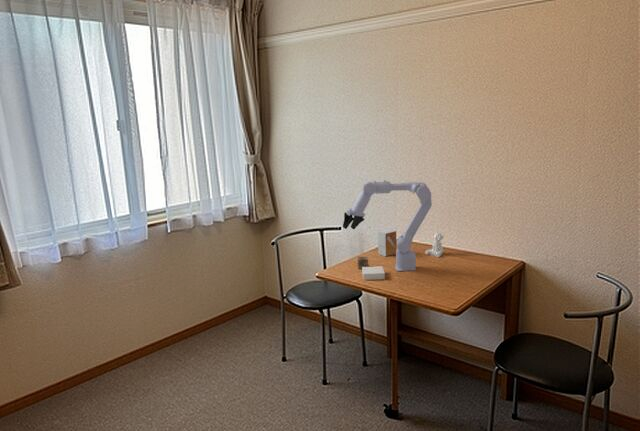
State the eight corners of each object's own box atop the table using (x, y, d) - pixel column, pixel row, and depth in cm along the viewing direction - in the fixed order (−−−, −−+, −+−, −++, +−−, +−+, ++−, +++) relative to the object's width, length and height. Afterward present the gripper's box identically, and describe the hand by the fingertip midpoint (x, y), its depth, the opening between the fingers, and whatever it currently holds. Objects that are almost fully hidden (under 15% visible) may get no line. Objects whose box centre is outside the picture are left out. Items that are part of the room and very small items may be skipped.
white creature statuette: (424, 254, 255) (424, 232, 253) (434, 250, 260) (434, 229, 258) (438, 257, 248) (438, 236, 245) (448, 254, 253) (448, 233, 250)
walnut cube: (367, 265, 241) (367, 256, 240) (368, 269, 236) (368, 259, 235) (357, 266, 241) (357, 256, 240) (358, 269, 237) (358, 260, 235)
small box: (385, 256, 254) (385, 233, 251) (378, 254, 259) (377, 231, 256) (396, 253, 258) (396, 230, 256) (389, 251, 264) (388, 228, 261)
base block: (382, 271, 231) (382, 266, 230) (384, 279, 221) (384, 273, 220) (362, 272, 231) (362, 266, 230) (363, 279, 221) (363, 273, 221)
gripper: (362, 201, 237) (350, 224, 241) (347, 199, 225) (334, 223, 229) (372, 208, 234) (360, 231, 237) (357, 206, 222) (345, 230, 225)
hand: (348, 228), depth 233 cm, fingers open, 7 cm apart
